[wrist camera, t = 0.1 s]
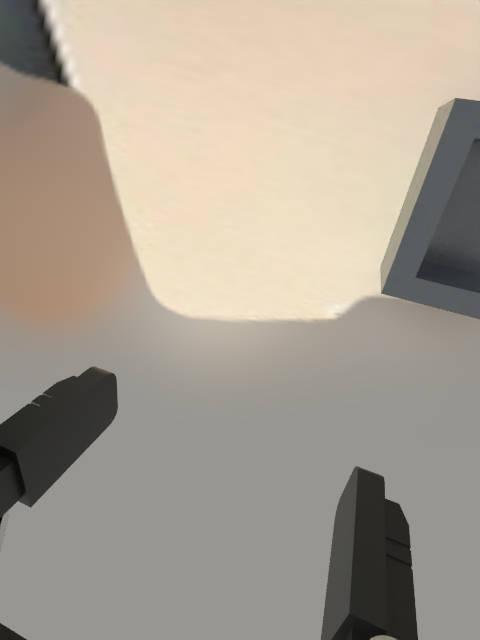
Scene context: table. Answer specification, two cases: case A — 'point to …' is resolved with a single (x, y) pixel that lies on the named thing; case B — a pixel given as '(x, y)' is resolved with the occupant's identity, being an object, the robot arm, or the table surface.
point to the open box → (441, 219)
